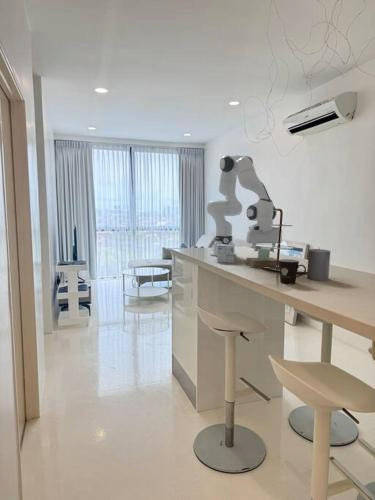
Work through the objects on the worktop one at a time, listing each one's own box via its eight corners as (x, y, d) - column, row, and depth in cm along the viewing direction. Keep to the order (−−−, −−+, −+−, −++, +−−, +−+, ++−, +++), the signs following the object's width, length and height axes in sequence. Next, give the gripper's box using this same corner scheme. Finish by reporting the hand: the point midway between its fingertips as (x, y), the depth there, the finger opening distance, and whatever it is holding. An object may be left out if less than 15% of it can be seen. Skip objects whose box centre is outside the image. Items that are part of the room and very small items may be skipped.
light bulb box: (233, 261, 215) (234, 244, 214) (234, 262, 209) (234, 245, 208) (216, 260, 217) (217, 244, 215) (216, 262, 210) (217, 245, 209)
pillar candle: (303, 276, 166) (305, 246, 164) (322, 276, 167) (324, 246, 165) (312, 281, 157) (314, 248, 155) (332, 280, 157) (334, 248, 156)
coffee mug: (273, 281, 154) (274, 259, 153) (289, 280, 157) (290, 258, 156) (290, 286, 144) (291, 263, 142) (306, 285, 147) (308, 262, 145)
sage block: (257, 258, 199) (258, 248, 198) (266, 258, 200) (266, 248, 199) (260, 259, 194) (261, 249, 193) (269, 259, 195) (269, 249, 194)
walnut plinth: (246, 264, 203) (246, 257, 203) (272, 264, 205) (272, 257, 205) (253, 268, 189) (254, 261, 189) (281, 267, 192) (281, 260, 191)
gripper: (279, 227, 199) (278, 250, 201) (246, 226, 197) (245, 250, 198) (284, 227, 193) (283, 251, 195) (249, 227, 190) (248, 251, 192)
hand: (263, 251), depth 197 cm, fingers open, 8 cm apart
